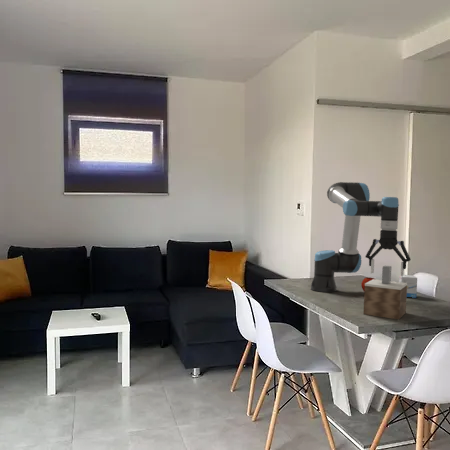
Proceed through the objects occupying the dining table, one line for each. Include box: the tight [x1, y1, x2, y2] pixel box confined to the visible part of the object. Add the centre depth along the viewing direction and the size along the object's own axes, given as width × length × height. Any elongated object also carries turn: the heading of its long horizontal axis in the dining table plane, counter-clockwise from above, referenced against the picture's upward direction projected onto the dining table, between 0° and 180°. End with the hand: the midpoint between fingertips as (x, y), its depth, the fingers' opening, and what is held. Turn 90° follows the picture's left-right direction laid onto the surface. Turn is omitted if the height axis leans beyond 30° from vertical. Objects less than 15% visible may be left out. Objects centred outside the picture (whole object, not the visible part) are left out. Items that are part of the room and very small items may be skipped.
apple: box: [360, 277, 375, 293], centre depth 264 cm, size 9×8×11 cm
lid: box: [365, 265, 407, 290], centre depth 222 cm, size 16×16×9 cm
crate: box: [363, 285, 407, 320], centre depth 223 cm, size 16×16×14 cm
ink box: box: [398, 274, 418, 299], centre depth 267 cm, size 8×8×12 cm
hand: (386, 274), depth 222 cm, fingers open, 13 cm apart
